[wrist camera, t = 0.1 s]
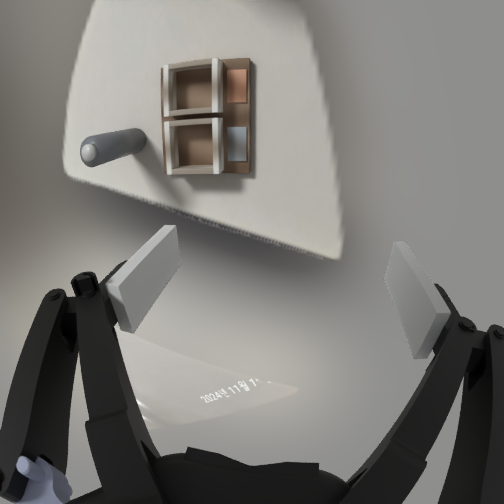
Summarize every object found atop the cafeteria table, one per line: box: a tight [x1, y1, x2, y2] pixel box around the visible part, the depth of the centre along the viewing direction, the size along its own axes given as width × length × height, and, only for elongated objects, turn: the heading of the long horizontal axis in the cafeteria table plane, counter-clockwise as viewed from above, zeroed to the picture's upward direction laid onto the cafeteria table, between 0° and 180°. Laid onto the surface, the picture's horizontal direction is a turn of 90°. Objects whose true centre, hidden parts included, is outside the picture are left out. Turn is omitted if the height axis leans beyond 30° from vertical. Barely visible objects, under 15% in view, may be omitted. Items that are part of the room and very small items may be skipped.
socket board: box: [161, 58, 250, 175], centre depth 36 cm, size 18×14×4 cm
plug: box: [80, 128, 146, 167], centre depth 36 cm, size 4×4×13 cm
